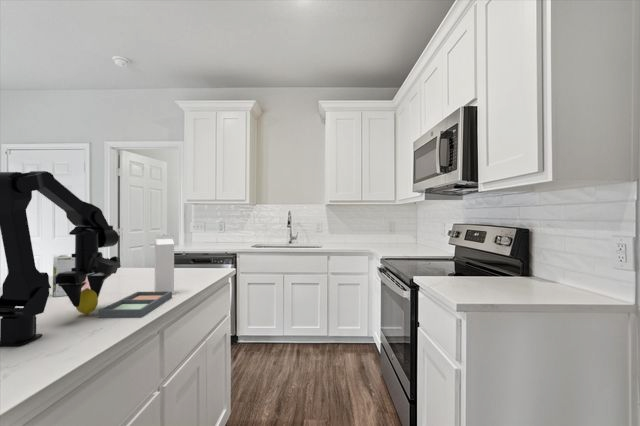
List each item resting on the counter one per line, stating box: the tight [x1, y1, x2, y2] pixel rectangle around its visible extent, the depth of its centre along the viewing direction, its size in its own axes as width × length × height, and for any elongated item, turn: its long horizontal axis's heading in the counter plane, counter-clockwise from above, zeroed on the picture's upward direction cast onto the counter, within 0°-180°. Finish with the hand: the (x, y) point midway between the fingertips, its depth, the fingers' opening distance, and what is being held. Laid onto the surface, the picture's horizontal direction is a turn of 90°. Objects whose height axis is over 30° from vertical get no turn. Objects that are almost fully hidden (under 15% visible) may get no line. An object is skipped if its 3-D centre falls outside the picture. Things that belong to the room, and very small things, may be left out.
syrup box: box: [52, 254, 75, 298], centre depth 128 cm, size 6×6×14 cm
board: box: [97, 291, 173, 319], centre depth 112 cm, size 24×12×2 cm, turn 3°
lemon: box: [75, 288, 99, 316], centre depth 103 cm, size 6×6×8 cm
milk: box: [154, 234, 175, 296], centre depth 130 cm, size 6×6×22 cm
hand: (86, 302), depth 103 cm, fingers open, 9 cm apart
